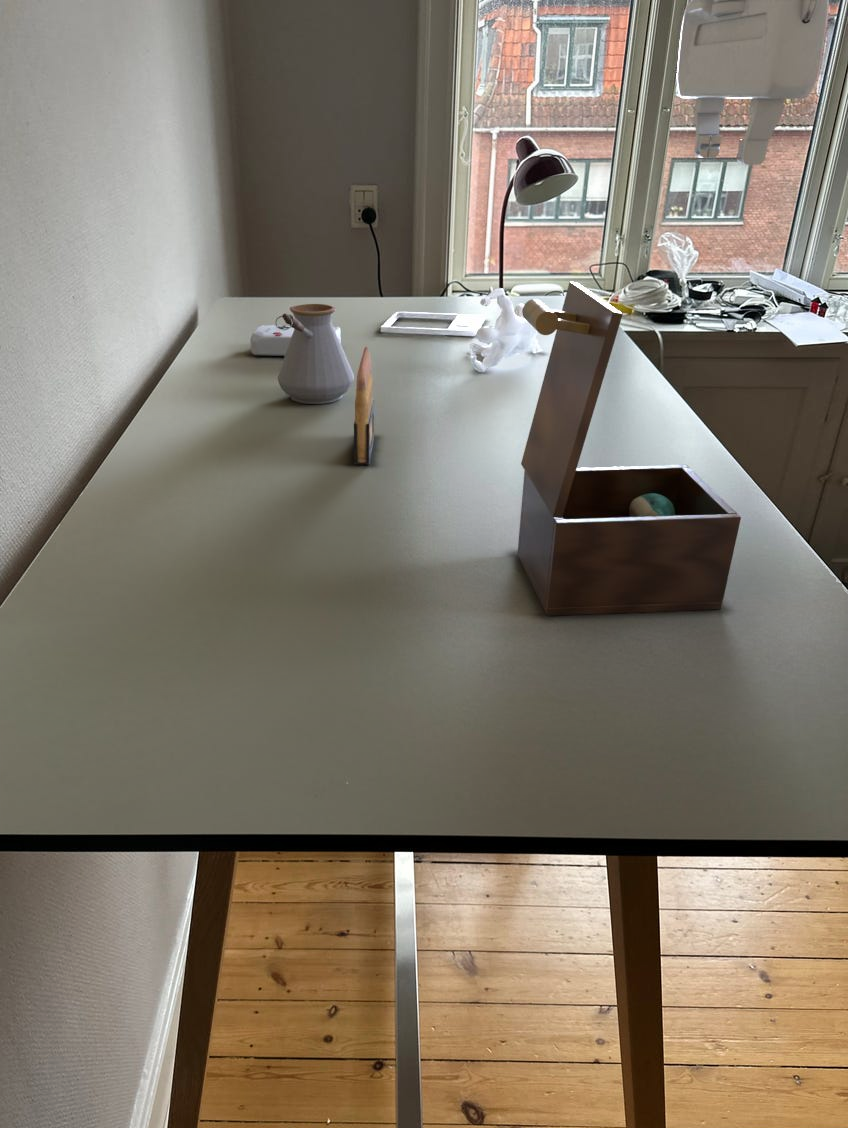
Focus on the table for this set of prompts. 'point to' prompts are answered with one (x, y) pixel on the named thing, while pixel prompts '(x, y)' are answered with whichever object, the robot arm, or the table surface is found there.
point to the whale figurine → (651, 506)
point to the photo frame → (459, 326)
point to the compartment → (628, 544)
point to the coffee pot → (314, 357)
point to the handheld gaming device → (274, 340)
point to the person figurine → (503, 334)
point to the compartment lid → (567, 388)
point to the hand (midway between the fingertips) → (726, 160)
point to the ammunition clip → (364, 412)
